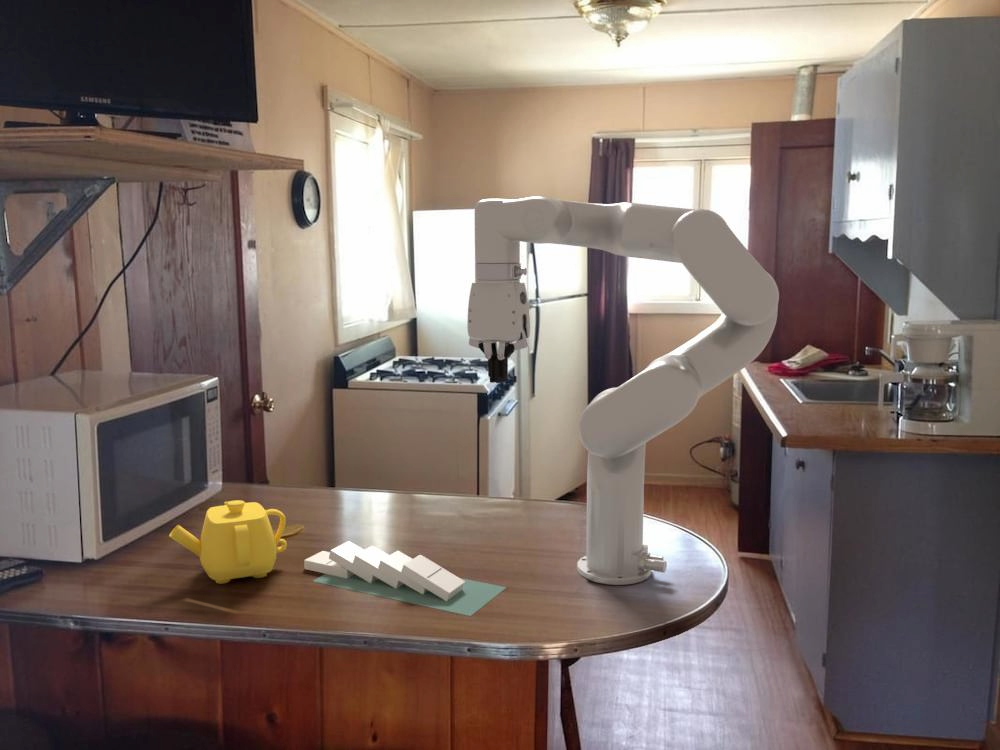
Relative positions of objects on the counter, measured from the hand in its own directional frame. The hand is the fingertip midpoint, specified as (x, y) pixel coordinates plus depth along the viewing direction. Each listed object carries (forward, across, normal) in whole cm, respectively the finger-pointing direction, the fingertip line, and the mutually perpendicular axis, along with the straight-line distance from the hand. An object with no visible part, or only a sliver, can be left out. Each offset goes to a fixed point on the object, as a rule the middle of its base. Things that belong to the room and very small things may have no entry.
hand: (498, 381), depth 147 cm
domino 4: (+31, +3, +17) cm, 35 cm away
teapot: (+32, +38, +26) cm, 56 cm away
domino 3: (+31, +8, +17) cm, 36 cm away
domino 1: (+31, +18, +17) cm, 40 cm away
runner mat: (+32, +8, +17) cm, 37 cm away
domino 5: (+31, -1, +18) cm, 36 cm away
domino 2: (+31, +14, +17) cm, 38 cm away
